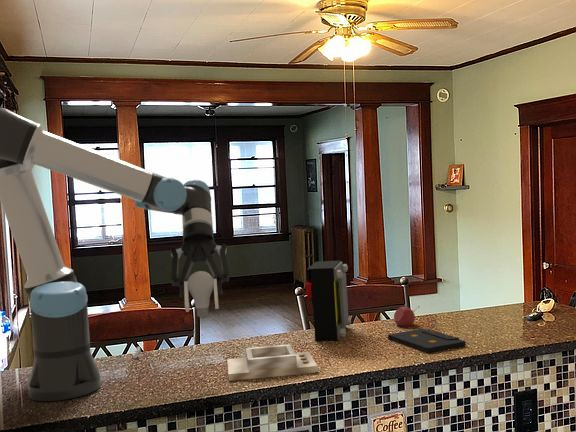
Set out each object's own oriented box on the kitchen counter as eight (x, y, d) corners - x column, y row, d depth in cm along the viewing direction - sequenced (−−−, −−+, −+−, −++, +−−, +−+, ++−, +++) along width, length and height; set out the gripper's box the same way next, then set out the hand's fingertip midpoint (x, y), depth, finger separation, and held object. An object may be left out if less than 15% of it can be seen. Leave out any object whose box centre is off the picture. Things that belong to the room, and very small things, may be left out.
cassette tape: (466, 348, 151) (466, 340, 151) (428, 355, 146) (427, 346, 146) (423, 335, 167) (422, 327, 167) (387, 341, 163) (387, 333, 163)
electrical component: (345, 341, 164) (341, 267, 163) (308, 341, 166) (303, 269, 165) (351, 326, 181) (347, 260, 180) (318, 327, 183) (314, 261, 182)
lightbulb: (220, 315, 142) (217, 269, 141) (210, 321, 136) (207, 272, 135) (196, 315, 143) (193, 269, 143) (185, 321, 137) (182, 273, 137)
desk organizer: (228, 380, 134) (227, 363, 133) (227, 365, 146) (226, 348, 146) (317, 372, 136) (316, 354, 136) (309, 357, 149) (308, 341, 149)
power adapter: (143, 359, 159) (142, 347, 159) (133, 361, 158) (132, 349, 158) (140, 356, 162) (139, 345, 162) (130, 358, 160) (129, 346, 160)
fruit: (415, 333, 176) (425, 307, 178) (400, 325, 174) (410, 300, 176) (403, 329, 182) (413, 305, 183) (389, 322, 180) (399, 297, 181)
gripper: (236, 237, 155) (244, 312, 140) (161, 243, 153) (161, 320, 137) (235, 217, 150) (243, 293, 134) (157, 223, 147) (157, 300, 132)
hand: (201, 306), depth 136 cm, fingers closed on lightbulb, 6 cm apart
